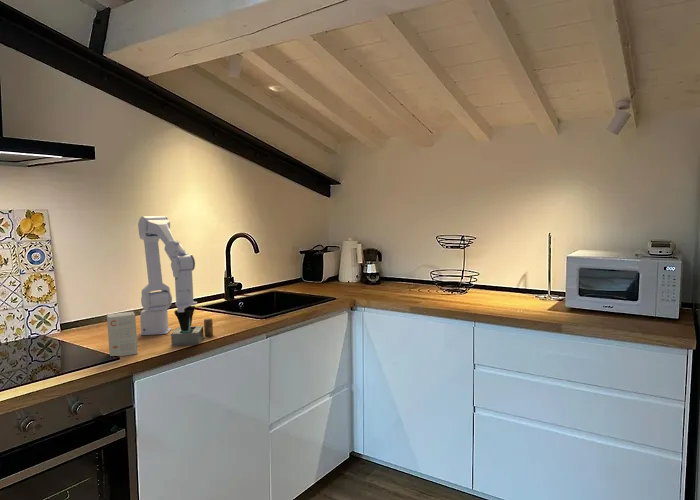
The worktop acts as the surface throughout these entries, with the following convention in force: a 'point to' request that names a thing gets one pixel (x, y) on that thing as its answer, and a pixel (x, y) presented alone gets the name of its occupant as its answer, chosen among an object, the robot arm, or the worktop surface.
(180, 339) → the bore block
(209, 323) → the walnut dowel
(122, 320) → the small box
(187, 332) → the teal dowel
